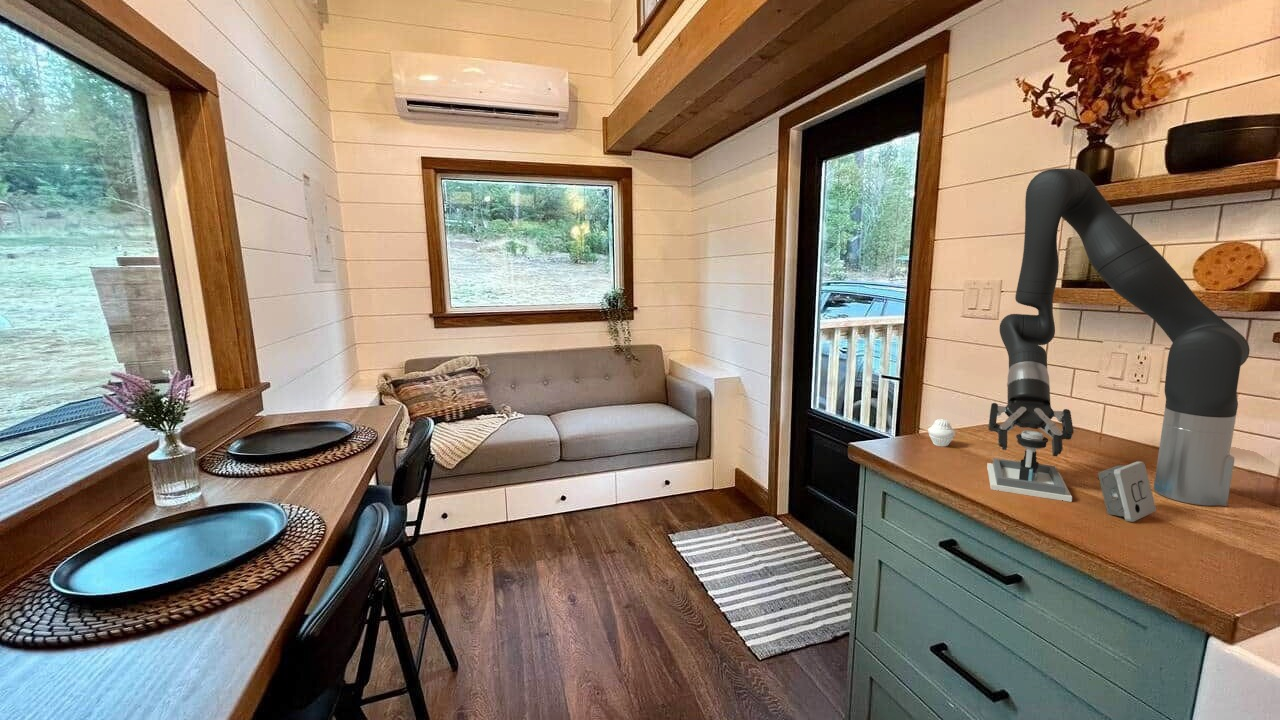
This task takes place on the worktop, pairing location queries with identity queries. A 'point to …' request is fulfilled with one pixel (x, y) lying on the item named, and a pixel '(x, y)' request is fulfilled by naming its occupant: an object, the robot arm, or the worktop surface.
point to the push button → (1030, 453)
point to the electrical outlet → (1127, 491)
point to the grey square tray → (1045, 486)
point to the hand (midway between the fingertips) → (1029, 451)
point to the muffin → (941, 433)
